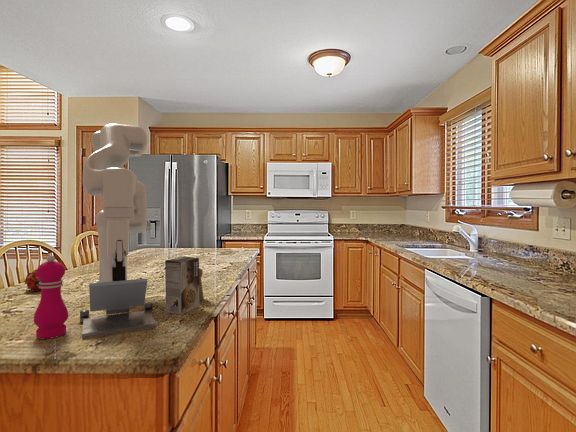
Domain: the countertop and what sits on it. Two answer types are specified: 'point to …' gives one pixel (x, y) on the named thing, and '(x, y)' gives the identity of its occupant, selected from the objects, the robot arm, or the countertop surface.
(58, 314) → the pepper mill
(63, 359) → the countertop surface
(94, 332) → the hinge base
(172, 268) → the coffee box
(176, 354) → the countertop surface
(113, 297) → the panel
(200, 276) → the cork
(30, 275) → the dragon fruit
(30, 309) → the countertop surface
